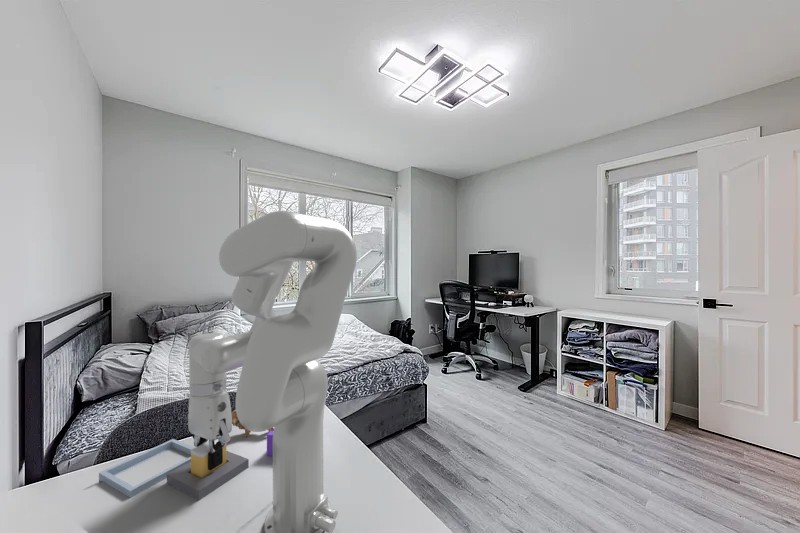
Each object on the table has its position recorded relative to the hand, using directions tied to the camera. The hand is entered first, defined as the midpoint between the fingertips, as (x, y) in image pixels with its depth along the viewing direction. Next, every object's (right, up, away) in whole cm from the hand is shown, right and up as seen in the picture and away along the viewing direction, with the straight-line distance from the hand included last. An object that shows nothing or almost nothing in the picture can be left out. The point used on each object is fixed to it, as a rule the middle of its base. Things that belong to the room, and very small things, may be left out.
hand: (209, 463), depth 75 cm
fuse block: (0, -4, 0) cm, 4 cm away
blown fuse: (0, -3, 0) cm, 3 cm away
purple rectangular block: (+15, -4, +13) cm, 20 cm away
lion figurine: (+3, -4, +18) cm, 19 cm away
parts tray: (-15, -4, +3) cm, 16 cm away
